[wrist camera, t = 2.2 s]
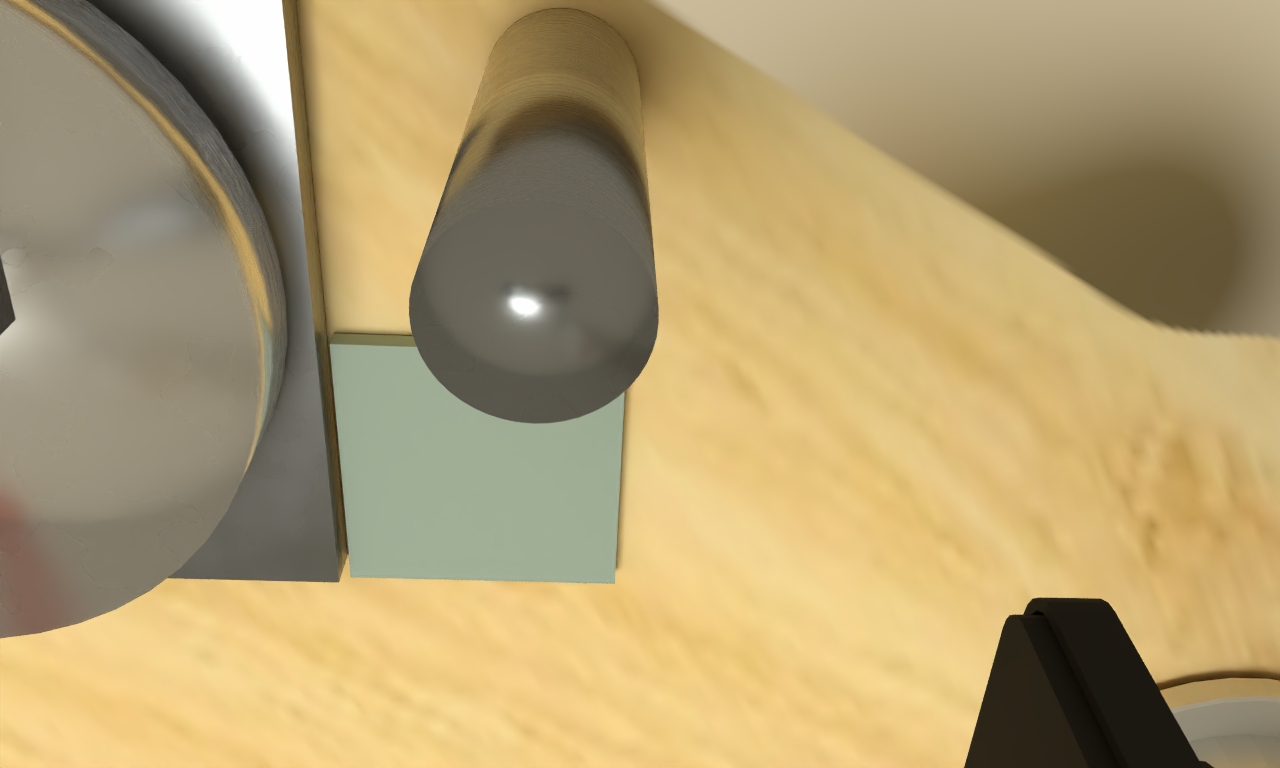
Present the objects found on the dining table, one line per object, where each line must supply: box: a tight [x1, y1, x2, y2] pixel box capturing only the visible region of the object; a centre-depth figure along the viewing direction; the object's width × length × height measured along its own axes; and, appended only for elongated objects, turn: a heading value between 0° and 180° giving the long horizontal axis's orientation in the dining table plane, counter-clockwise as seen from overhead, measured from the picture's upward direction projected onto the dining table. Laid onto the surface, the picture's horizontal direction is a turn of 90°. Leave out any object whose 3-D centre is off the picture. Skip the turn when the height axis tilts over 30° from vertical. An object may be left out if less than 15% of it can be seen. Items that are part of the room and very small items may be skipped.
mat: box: [330, 333, 625, 584], centre depth 32 cm, size 8×8×1 cm
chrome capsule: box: [409, 8, 658, 424], centre depth 22 cm, size 4×4×12 cm
